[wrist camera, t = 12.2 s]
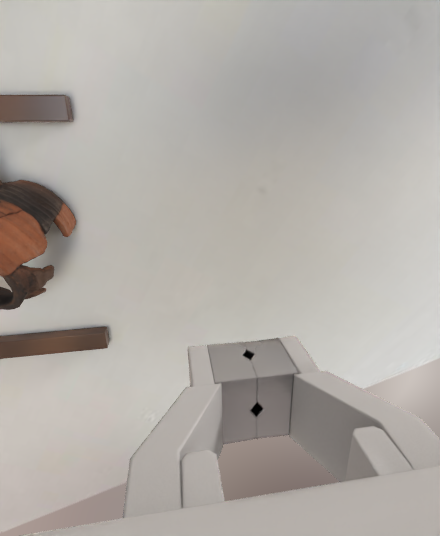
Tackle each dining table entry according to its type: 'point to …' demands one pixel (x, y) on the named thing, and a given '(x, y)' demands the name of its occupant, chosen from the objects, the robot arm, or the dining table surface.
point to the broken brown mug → (27, 237)
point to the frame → (57, 341)
